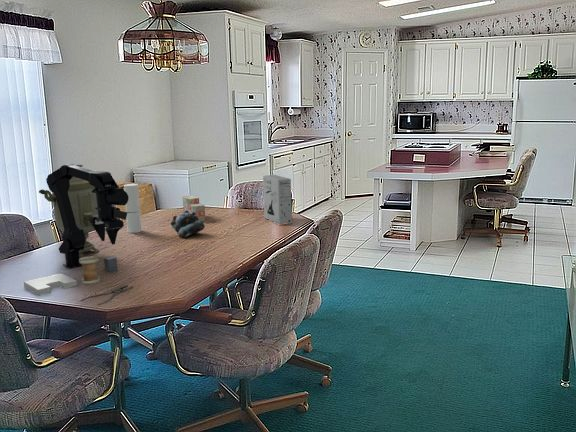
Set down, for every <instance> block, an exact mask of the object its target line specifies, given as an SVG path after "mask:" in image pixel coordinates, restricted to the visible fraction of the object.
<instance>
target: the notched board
mask: <svg viewBox="0 0 576 432" xmlns="http://www.w3.org/2000/svg"><path fill="white" fill-rule="evenodd" d="M77 284H78V283H77V280H75V279H73V278H71V277H70V276H68V275H65V274H63V273H61V272H60V273H56V274H52V275H48V276H43V277H38V278H34V279H30V280H25V281H23V286H24V288H26V289H27V290H29V291H31V292H33V293H35V294H36V295H38V296H40V295H45V294H49V293H51V292H52V289H54V288H58V287H61V288H62V289H64V290H65V289H70V288H74V287H77V286H78V285H77Z"/></svg>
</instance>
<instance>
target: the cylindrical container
mask: <svg viewBox="0 0 576 432" xmlns="http://www.w3.org/2000/svg"><path fill="white" fill-rule="evenodd" d="M123 188H124V191H125V192H126V193H127V194H128V197H129V198H128V202H127V204H126V205H125V212H127V217H126V226H127V229H126V230H127V233H129V234H135V233H137V234H138V233H140V232H142V222H141V221H142V220H141V219H142V218H141V207H140V194H139V184H138V183H127V184H124V185H123Z"/></svg>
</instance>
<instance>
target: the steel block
mask: <svg viewBox="0 0 576 432" xmlns="http://www.w3.org/2000/svg"><path fill="white" fill-rule="evenodd" d="M117 260H118V259H117V257H115V256H113V255H112V256H107V257H104V258H103V263H104V271H105V272H106V273H108V274H112V273H115V272H118V261H117Z"/></svg>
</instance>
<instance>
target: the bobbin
mask: <svg viewBox="0 0 576 432" xmlns="http://www.w3.org/2000/svg"><path fill="white" fill-rule="evenodd" d="M99 261H100V260H99V257H98V256H96V255H95V256H93V255H91V256H83V257H80V259H79V263H81V264H83V265H82V273H83V278H81V279H80V284H82V285H95V284H99V283H100V282H101V277H100V276H98V272H97V271H98V270H97V263H98V262H99Z"/></svg>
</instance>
